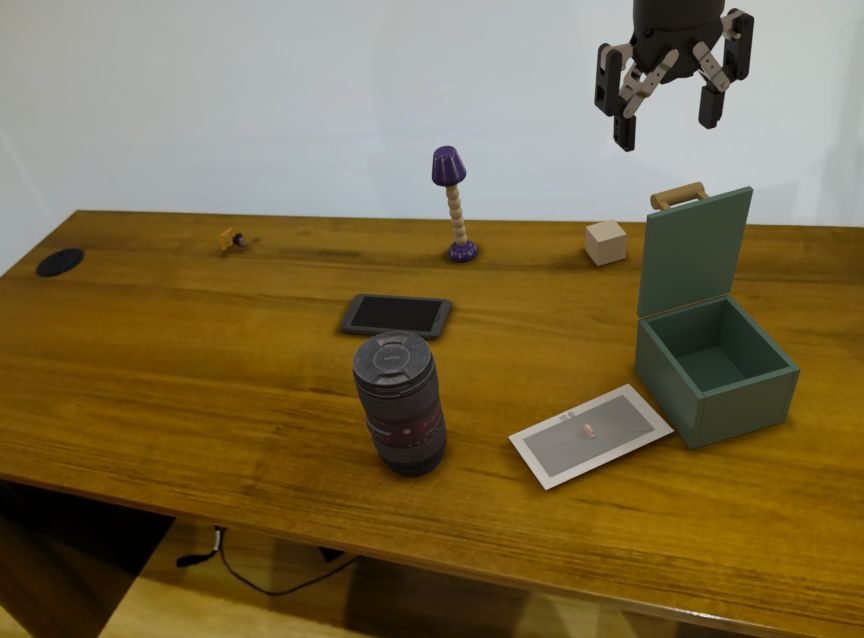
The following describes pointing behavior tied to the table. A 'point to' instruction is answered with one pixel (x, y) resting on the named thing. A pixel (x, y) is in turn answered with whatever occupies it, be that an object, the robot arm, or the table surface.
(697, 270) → the lid
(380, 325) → the cell phone
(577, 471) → the touchpad
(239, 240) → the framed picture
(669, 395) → the chest
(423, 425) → the camera lens
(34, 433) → the table surface
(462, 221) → the toy lamp
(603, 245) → the block
